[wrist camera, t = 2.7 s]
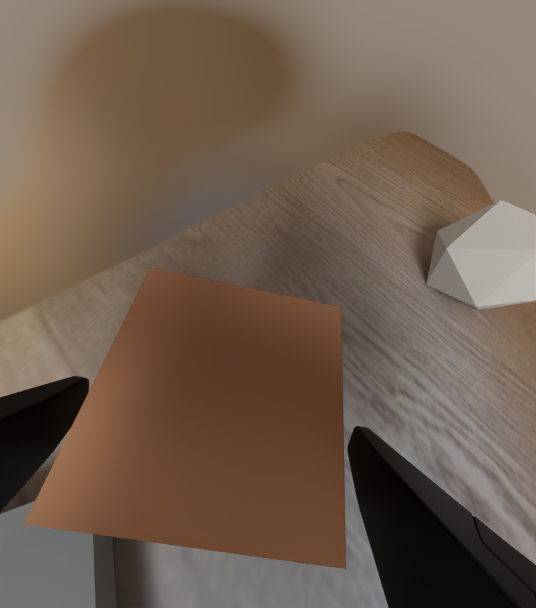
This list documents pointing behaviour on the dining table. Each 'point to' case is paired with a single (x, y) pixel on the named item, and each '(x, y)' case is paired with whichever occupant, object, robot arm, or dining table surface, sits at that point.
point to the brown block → (211, 427)
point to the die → (487, 258)
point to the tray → (53, 566)
